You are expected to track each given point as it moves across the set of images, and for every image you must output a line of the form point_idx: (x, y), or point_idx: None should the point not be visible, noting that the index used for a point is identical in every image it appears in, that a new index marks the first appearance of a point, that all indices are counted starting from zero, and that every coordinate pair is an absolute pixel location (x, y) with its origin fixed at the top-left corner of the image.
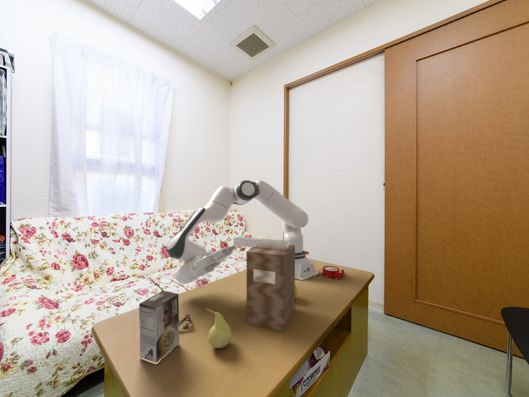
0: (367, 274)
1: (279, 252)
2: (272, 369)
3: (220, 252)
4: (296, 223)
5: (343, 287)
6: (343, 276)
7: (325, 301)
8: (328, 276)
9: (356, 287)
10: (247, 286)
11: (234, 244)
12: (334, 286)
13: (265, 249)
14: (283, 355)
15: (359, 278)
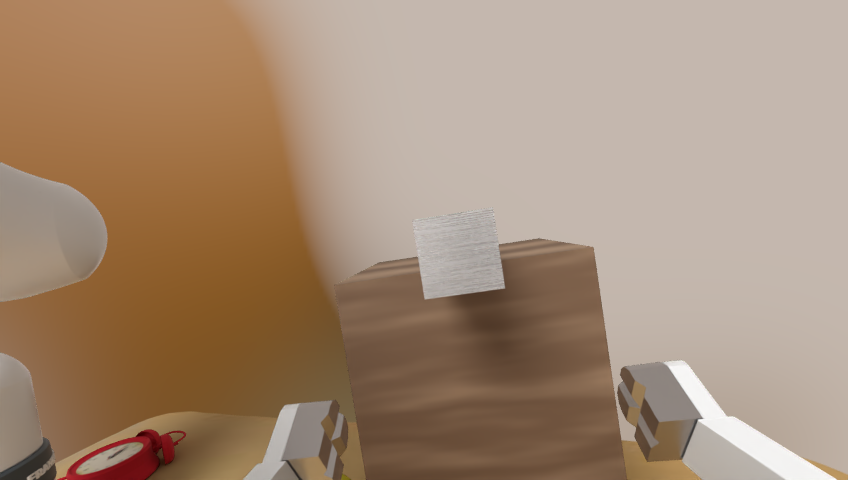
0: (167, 415)
1: (512, 244)
2: None
3: (684, 376)
4: (86, 250)
5: (248, 439)
6: (184, 435)
7: (346, 455)
8: (141, 477)
9: (254, 421)
10: (621, 449)
11: (502, 274)
12: (234, 456)
13: None
14: (671, 467)
15: (190, 423)
